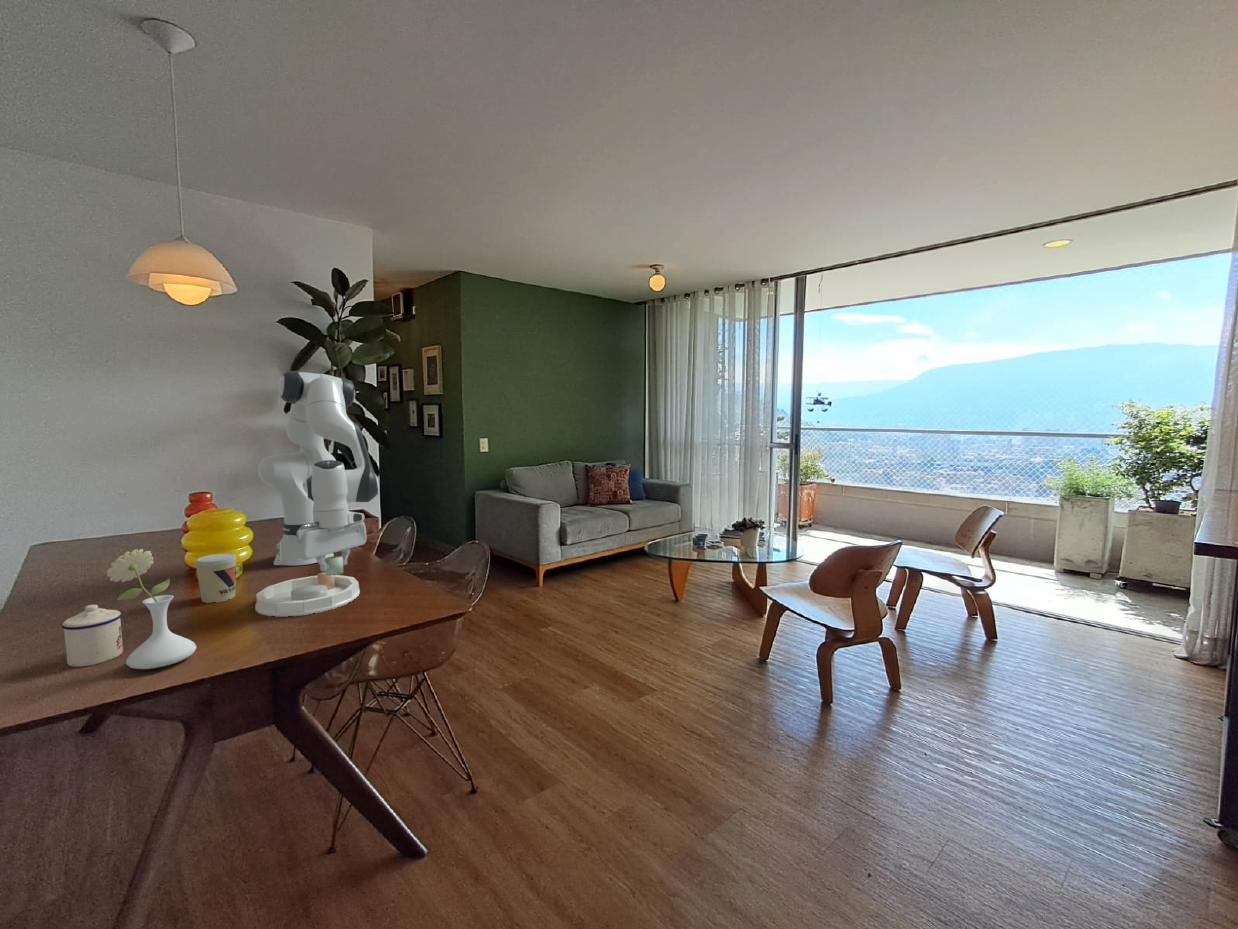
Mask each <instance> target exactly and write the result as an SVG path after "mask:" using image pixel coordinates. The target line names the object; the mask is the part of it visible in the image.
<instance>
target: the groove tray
mask: <svg viewBox="0 0 1238 929" xmlns="http://www.w3.org/2000/svg"><path fill="white" fill-rule="evenodd" d="M359 594H360V595H361V589H360V584H359V581H358V580H357V579H356V578H355V577H353V576H347V575H341V574H339V575H335V588H333V589H330V590H327V586H325V585H318V575H311V576H307V577H306V576H305V577H299V578H292V579H287V580H284V581H281V582H278V583H275V584H271V585H268V586H266V587H265V588H264V589H262V590H260V591H259V592H258V593H256V594H255V595H256V603H255V605H254V606H255V607H254V608H255V609H254V610H255V612H256V613H258V614H259V615H262V616H265V617H266V616H267V617H271V616H275V617H276V618H284V617H285V618H289V617H288V616H293V617H301V616H310V615H314V614H313V613H315V614H320V613H324V611H325V612H328V610H329V611H332V610H336V609H339V608H341V606H342V607H344V606H346V605H348V603H349V602H351V603H352V601H353V600H354V599H356V598H357V597H358V596H359V597H360V595H359ZM359 597H358V598H359ZM358 598H357V599H358ZM357 599H356V600H357ZM354 601H355V600H354ZM354 601H353V602H354ZM349 604H350V603H349ZM338 607H339V608H338ZM331 609H332V610H331ZM309 614H310V615H309Z"/></svg>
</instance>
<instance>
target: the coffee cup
mask: <svg viewBox="0 0 1238 929" xmlns="http://www.w3.org/2000/svg"><path fill="white" fill-rule="evenodd" d="M194 564H195V566H196V575H197V581H198V586H199V591H200V592H199V593H200V597H201V598H200V599H201V602H202V603H204V602H205V604H213V603H212V602H216V603H221V602H226V601H229V600H228V599H230V600H231V599H234V598H235V597H236V592H237V591H236V590H237V585H236V584H237V556H236V554H234V553H217V554H209V555H206V556H205V555H204V556H202V557H199V558H197V559H196V561H195V563H194ZM233 597H234V598H233ZM209 602H210V603H209Z"/></svg>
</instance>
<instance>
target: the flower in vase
mask: <svg viewBox="0 0 1238 929" xmlns="http://www.w3.org/2000/svg"><path fill="white" fill-rule="evenodd" d="M151 552H152V551H150V550H148V551H147V550H146V551H144V549H143V548H141V549H134V550H132V551H131V552H130V551H126V552H124V553H123V555H119V556H118V557H117V558H116V559H115V561H112V563H111V564H110V568H108V569H107V571H106V576H107V577H109V581H110V582H119V581H121V583H124V582H125V583H126V582H128V581H129V582H130V581H132V580H134V578H135V579H138V582H139V584H140V588H136V587H135V588H130V589H128V590H125V591H124V592H123V593H121V594H120V595H119V596H118V598H117V599H116V601H121V600H123V601H124V600H132V599H135V598H137V597H138V596H140V595H141V593H142V592H145V593H146V594H148V595H149V598H146V599H144V600H142V604H143V605H145V607H146V608H147V609H148V610H149V612H150V616H151V619H152V632H151V635H150V636H149V637H148V639H146V640H145V641H144V642H142V643H141V644H140V645H139V646H138V647H137V648H135V649H134V650H133V651H132V652H131V653H130V654H129V655H128V657H127V659H126V661H125V664H126V665H127V666H128V667H129V668H131V669H136V670H151V669H157V668H162V667H166V666H170V665H173V664H176V663H179V662H181V661H183V660H186V659H187V658H189V657H191V656H192V655H193V654H194V653H195V651H196V650H197V645H196V644H195V642H194V641H192V640H191V639H189V638H186V637H184V636H182V635H178V634H176V633H174V632H172V631H171V630H170V629H169V627H168V622H167V621H168V619H167V618H168V617H167V615H168V608H169V605H170V604H171V601H172V600H173V599H174V598H175V597H174V595H171V594H164V595H157V594H159V593H161V592H163V591H166V589H168V587H169V585H170V583H171V582H170V581H171V579H170V578H167V579H166V580H165V581H163V582H159V583H158V584H156V585H155V586H153V587H152V589H151V592H149V591H148V590H147V589H146V588H145V587H144V584H143V582H142V580H141V578H140V576H141V575H143V574H146V573H147V571H148V570H149V569H150V568H151V566H152V565H153V564H154V556H152V555H153V553H151ZM154 595H157V596H154Z"/></svg>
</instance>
